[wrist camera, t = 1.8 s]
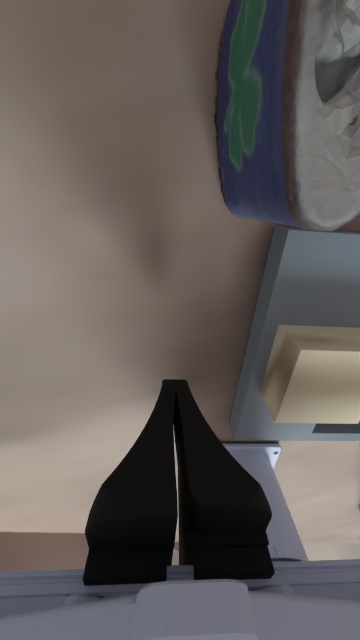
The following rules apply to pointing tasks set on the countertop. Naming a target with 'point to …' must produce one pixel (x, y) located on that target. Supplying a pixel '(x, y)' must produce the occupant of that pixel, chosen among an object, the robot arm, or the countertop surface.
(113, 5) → the countertop surface
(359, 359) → the birch block
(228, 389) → the countertop surface
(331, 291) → the trap deck
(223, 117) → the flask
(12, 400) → the countertop surface
